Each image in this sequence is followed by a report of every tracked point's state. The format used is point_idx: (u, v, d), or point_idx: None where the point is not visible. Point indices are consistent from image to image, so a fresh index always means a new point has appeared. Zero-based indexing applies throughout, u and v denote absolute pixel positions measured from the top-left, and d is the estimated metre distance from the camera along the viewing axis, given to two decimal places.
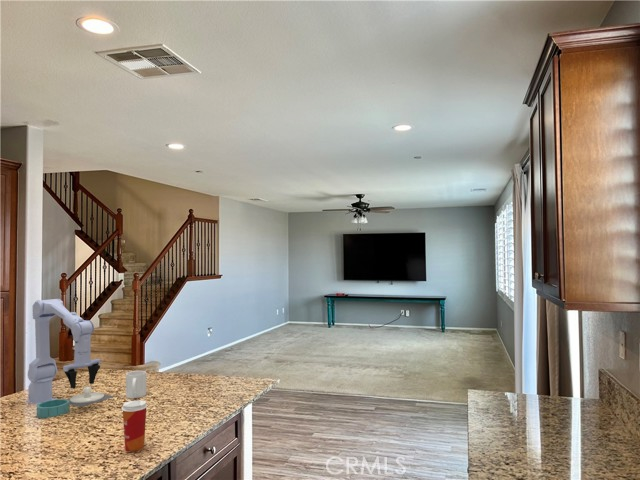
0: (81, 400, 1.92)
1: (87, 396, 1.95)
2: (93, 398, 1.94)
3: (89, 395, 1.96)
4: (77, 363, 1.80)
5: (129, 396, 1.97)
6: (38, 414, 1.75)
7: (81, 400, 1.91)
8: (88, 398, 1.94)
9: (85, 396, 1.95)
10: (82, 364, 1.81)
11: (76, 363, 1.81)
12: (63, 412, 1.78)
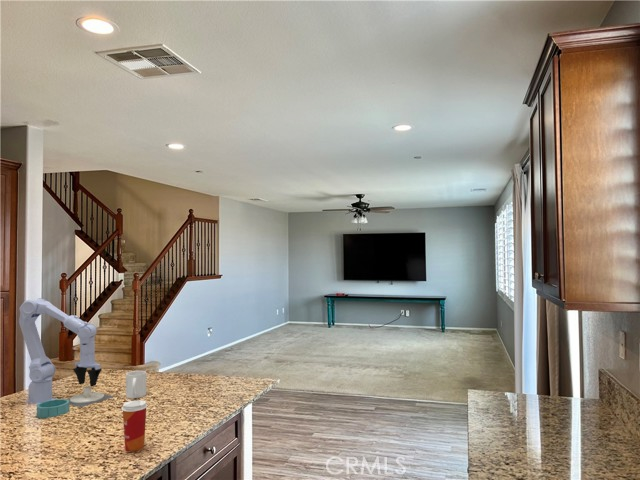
0: (81, 400, 1.92)
1: (87, 396, 1.95)
2: (93, 398, 1.94)
3: (89, 395, 1.96)
4: None
5: (129, 396, 1.97)
6: (38, 414, 1.75)
7: (81, 400, 1.91)
8: (88, 398, 1.94)
9: (85, 396, 1.95)
10: (79, 364, 1.96)
11: None
12: (63, 412, 1.78)
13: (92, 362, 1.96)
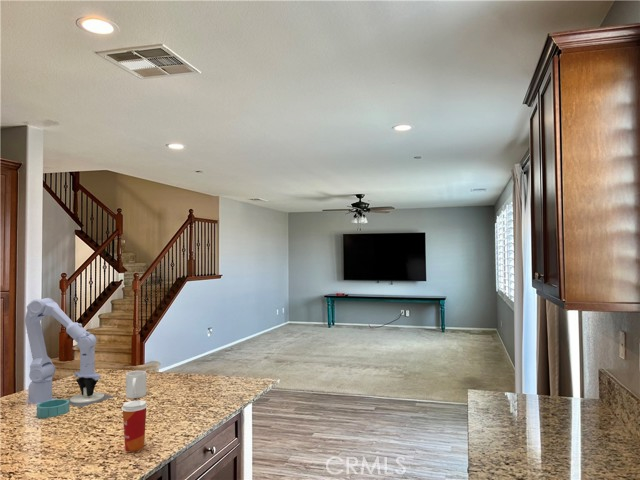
0: (81, 400, 1.92)
1: (87, 396, 1.95)
2: (93, 398, 1.94)
3: None
4: None
5: (129, 396, 1.97)
6: (38, 414, 1.75)
7: (81, 400, 1.91)
8: (88, 398, 1.94)
9: (85, 396, 1.95)
10: (79, 374, 1.96)
11: None
12: (63, 412, 1.78)
13: (92, 372, 1.96)
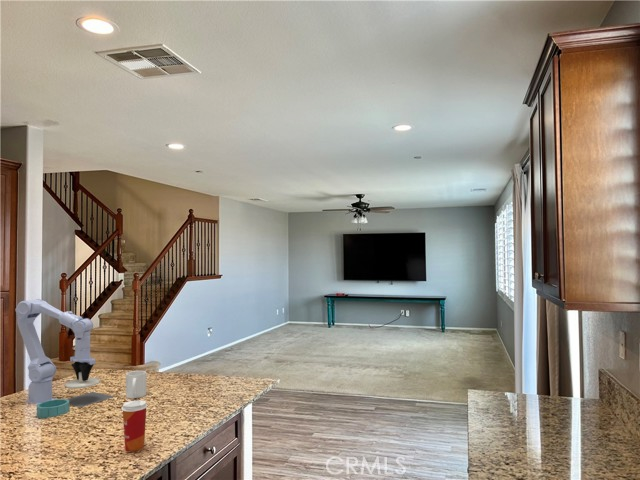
0: (76, 385, 1.90)
1: (82, 381, 1.93)
2: (88, 383, 1.92)
3: None
4: None
5: (129, 396, 1.97)
6: (38, 414, 1.75)
7: (76, 385, 1.89)
8: (83, 383, 1.92)
9: (80, 381, 1.93)
10: (74, 359, 1.93)
11: None
12: (63, 412, 1.78)
13: (87, 357, 1.94)
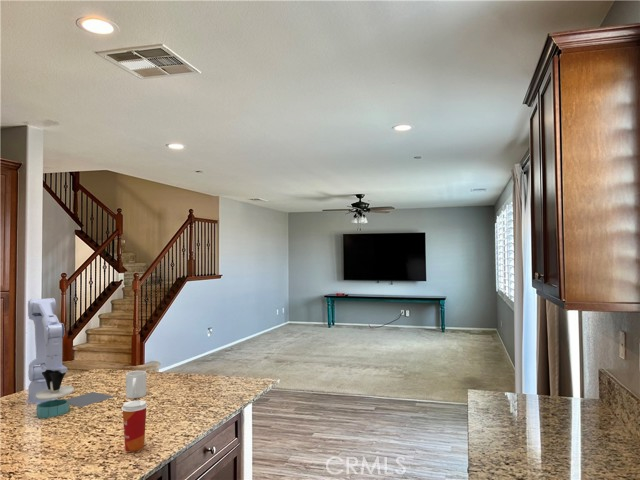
0: (47, 395, 1.76)
1: (54, 391, 1.80)
2: (61, 393, 1.78)
3: None
4: None
5: (129, 396, 1.97)
6: (38, 414, 1.75)
7: (47, 396, 1.75)
8: (55, 393, 1.78)
9: (52, 391, 1.79)
10: (45, 367, 1.79)
11: None
12: (63, 412, 1.78)
13: (59, 365, 1.80)
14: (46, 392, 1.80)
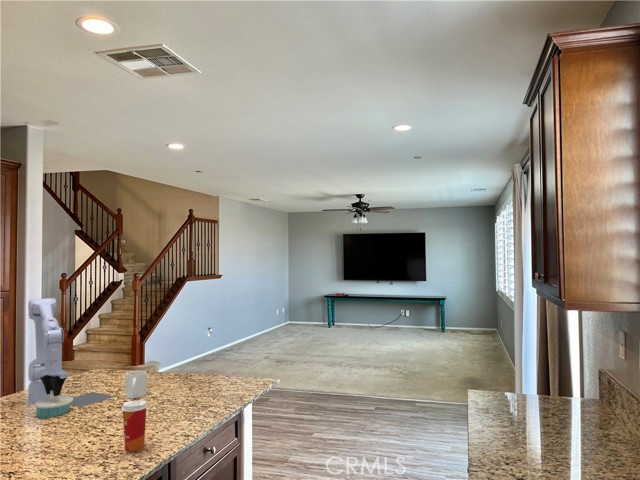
0: (46, 404, 1.75)
1: (54, 400, 1.79)
2: (60, 402, 1.78)
3: (56, 399, 1.80)
4: None
5: (129, 396, 1.97)
6: (38, 414, 1.75)
7: (46, 405, 1.75)
8: (55, 402, 1.78)
9: (52, 400, 1.79)
10: (44, 372, 1.79)
11: None
12: (63, 412, 1.78)
13: (58, 370, 1.80)
14: (45, 401, 1.80)
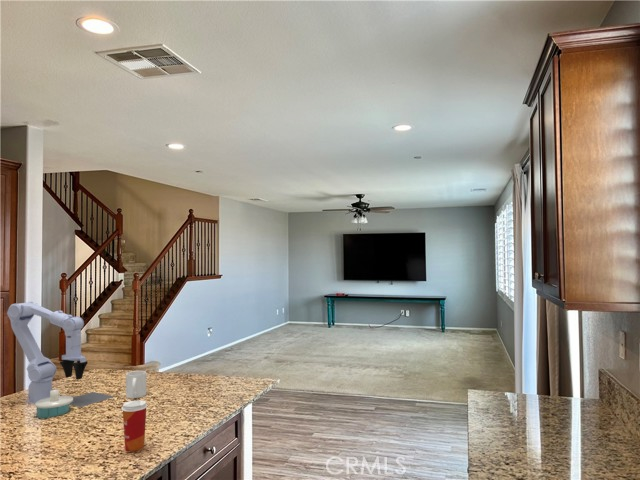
0: (46, 404, 1.75)
1: (54, 400, 1.79)
2: (60, 402, 1.78)
3: (56, 399, 1.80)
4: None
5: (129, 396, 1.97)
6: (38, 414, 1.75)
7: (46, 405, 1.75)
8: (55, 402, 1.78)
9: (52, 400, 1.79)
10: (65, 357, 1.93)
11: None
12: (63, 412, 1.78)
13: (78, 355, 1.93)
14: (45, 401, 1.80)
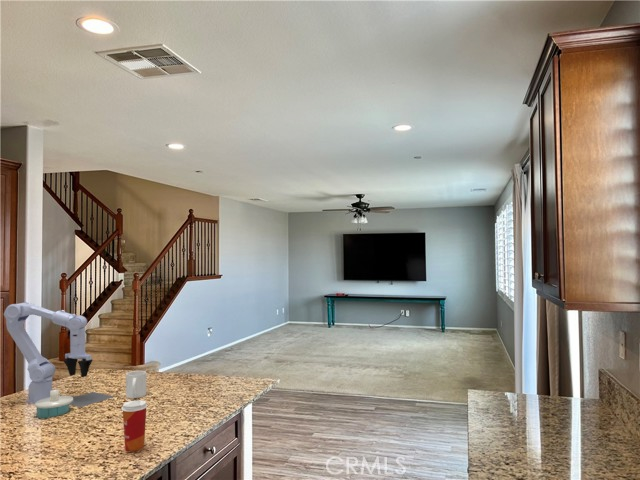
0: (46, 404, 1.75)
1: (54, 400, 1.79)
2: (60, 402, 1.78)
3: (56, 399, 1.80)
4: None
5: (129, 396, 1.97)
6: (38, 414, 1.75)
7: (46, 405, 1.75)
8: (55, 402, 1.78)
9: (52, 400, 1.79)
10: (70, 355, 1.96)
11: None
12: (63, 412, 1.78)
13: (83, 353, 1.97)
14: (45, 401, 1.80)
